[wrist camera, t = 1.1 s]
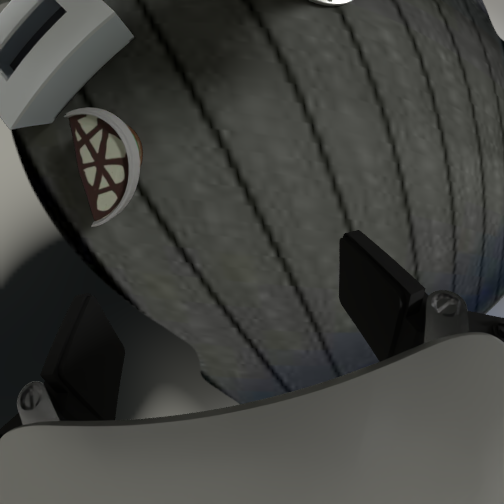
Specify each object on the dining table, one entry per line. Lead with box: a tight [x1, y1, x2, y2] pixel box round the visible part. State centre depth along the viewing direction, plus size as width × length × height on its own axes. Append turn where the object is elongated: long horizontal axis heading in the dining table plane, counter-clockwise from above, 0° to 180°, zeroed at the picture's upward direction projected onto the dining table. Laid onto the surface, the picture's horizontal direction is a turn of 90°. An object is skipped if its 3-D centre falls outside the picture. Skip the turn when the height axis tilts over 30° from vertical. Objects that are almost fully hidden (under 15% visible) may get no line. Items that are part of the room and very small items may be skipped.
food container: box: [64, 107, 143, 227], centre depth 26 cm, size 12×6×10 cm, turn 7°
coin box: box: [0, 0, 135, 130], centre depth 17 cm, size 15×14×10 cm
